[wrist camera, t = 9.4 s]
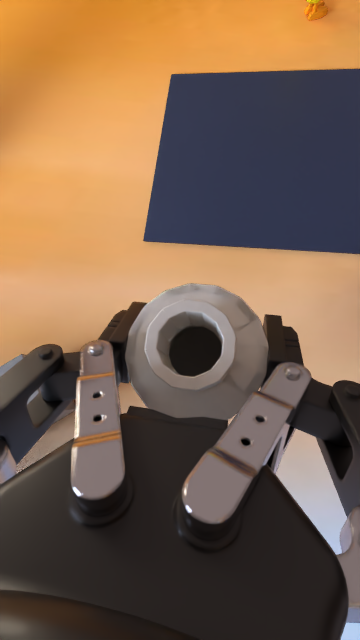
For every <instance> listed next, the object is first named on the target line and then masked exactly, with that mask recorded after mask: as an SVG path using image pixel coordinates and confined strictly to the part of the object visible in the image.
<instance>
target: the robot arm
mask: <svg viewBox="0 0 360 640" xmlns="http://www.w3.org/2000/svg"><path fill="white" fill-rule="evenodd" d="M147 304H148V303H142V302H133V303H132V304H131V306H130V307H129V309H128V310H122V311H120V312H119V313H117V314H116V315H115V316H114V317H113V319H112V320H111V322H110V323H109V324H108V327H106V329H105V330H104V332H103V333H102V334H101V336H100V337H99V339H98V340H95V341H91V342H89V343H87V344H85V345H84V346H83V347H82V348H81V351H80V352H74V353H64V354H63V351H62V348H61V347H60V346H58V345H55V344H47V345H42V346H40V347H37V348H36V349H34V350H33V351H31V352H30V353H29V354H28V355H26V356H25V357H24V358H23V359H22V360H20V361H19V362H18V363H17V364H15V365H14V366H13V367H12V368H11V369H9V370H8V371H7V372H6V373H4V374H3V375H2V376H1V377H0V640H340V639H341V636H342V633H343V630H344V627H345V624H346V623H360V384H359V383H356V382H353V381H347V380H342V381H338V382H336V383H335V384H334V385H333V387H332V386H329V385H326V384H323V383H321V382H318V381H316V380H314V379H313V378H312V377H311V373H310V372H309V370H308V369H307V368H305V367H304V364H303V359H302V354H301V349H300V345H299V340H298V335H297V333H296V332H295V331H294V329H293V328H292V327H286V326H283V325H282V319H281V316H278V315H267V314H265V317H264V323H263V330H264V333H265V336H266V339H267V342H268V346H269V349H268V359H267V372H266V376H265V378H264V380H263V382H262V384H261V390H260V391H257V390H254V391H253V392H252V394H251V395H250V396H249V398H248V399H247V401H246V402H245V403H244V405H243V406H242V408H241V409H240V410H239V412H238V413H237V415H236V416H235V417H234V419H233V420H232V422H231V423H230V424H229V426H228V420H222V419H215V418H208V417H190V418H174V417H172V416H169V415H167V414H164V413H161V412H159V411H156V410H154V409H147V408H141V407H134V406H130V407H129V409H128V411H127V413H124V414H121V408H120V399H119V391H118V386H119V384H120V382H122V383H129V381H130V378H129V374H128V369H127V365H126V360H125V353H126V347H127V341H128V335H129V331H130V328H131V327H132V325H133V323H134V322H135V320H136V318H137V317H138V315H139V313H140V312H141V310H142V308H144V306H145V305H147ZM38 388H39V390H40V392H39V393H38V394H37V395H36V396H35V397H34V398H33V399H32V400H31V401H30V402H29V403H28V404H27V402H28V399H29V398H30V396H31V395H32V394H33V393H34V392H35V391H36V390H37V389H38ZM73 399H76V411H75V437H74V438H73V439H72V440H70V441H68V442H67V443H65V444H64V445H62V446H60V447H59V448H57V449H56V450H54V451H53V452H51V453H49V454H48V455H46V456H45V457H43V458H41V459H40V460H38V461H37V462H35V463H33V464H32V465H30V466H29V467H27V468H25V469H24V470H22V471H21V472H19V473H18V474H16V470H17V464H18V463H19V462H20V460H21V459H22V458H23V457H24V456H25V455H26V453H27V452H28V451H29V450H30V449H31V448H32V447H33V445H34V444H35V443H36V442H37V441H38V440H39V438H40V437H41V436H42V435H43V434H44V433H45V432H46V430H47V429H48V428H49V427H50V426H51V425H52V424H53V422H54V421H55V420H56V419H57V418H58V417H59V415H60V414H61V413H62V412H63V411H64V410H65V409H66V407H67V406H68V405H69V404H70V403H71V401H72V400H73ZM296 429H298V430H301V431H303V432H306V433H308V434H310V435H313V436H315V437H316V439H317V442H318V444H319V447H320V449H321V452H322V455H323V457H324V460H325V462H326V465H327V467H328V470H329V472H330V475H331V477H332V480H333V483H334V485H335V488H336V490H337V493H338V495H339V498H340V500H341V503H342V506H343V508H344V511H345V513H346V516H347V520H346V522H345V524H344V526H343V527H342V529H341V532H340V544H341V549H342V554H339V555H336V554H335V553H334V551H333V550H332V548H331V547H330V545H329V544H328V543H327V541H326V540H325V539H324V537H323V536H322V535H321V533H320V532H319V531H318V530H317V528H316V527H315V526H314V524H313V523H312V522H311V520H310V519H309V518H308V517H307V515H306V514H305V513H304V511H303V510H302V509H301V507H300V506H299V505H298V503H297V502H296V501H295V500H294V498H293V497H292V496H291V494H290V493H289V492H288V490H287V489H286V488H285V487H284V485H283V484H282V483H281V481H280V480H279V479H278V477H277V476H276V475H275V474H276V472H277V469H278V466H279V463H280V461H281V458H282V456H283V454H284V452H285V450H286V448H287V446H288V444H289V442H290V440H291V438H292V436H293V434H294V432H295V430H296ZM15 474H16V475H15Z"/></svg>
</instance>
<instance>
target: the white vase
mask: <svg viewBox="0 0 360 640" xmlns="http://www.w3.org/2000/svg"><path fill="white" fill-rule="evenodd" d="M268 349H269V346H268V342H267V339H266V336H265V333H264V330H263V327H262V324H261V321H260V319H259V317H258V316H257V315H256V314H255V313H254V311H253V310H252V309H251V308H250V307H249V306H248V305H247V304H246V302H245V301H244V300H243V299H242V298H240V297H239V296H237V295H235V294H233V293H231V292H229V291H227V290H225V289H223V288H221V287H219V286H216V285H206V284H194V283H190V284H186V285H182V286H179V287H175V288H172V289H169V290H165V291H164V292H162V293H161V294H160V295H158V296H157V297H156V298H154V299H153V300H152V301H151V302H149V303H148V304H147V305H145V306H144V308H142V310H141V312H140V313H139V315H138V317H137V318H136V320H135V322H134V323H133V325H132V327H131V328H130V331H129V335H128V341H127V347H126V353H125V360H126V365H127V369H128V374H129V378H130V383H131V385H132V387H133V388H134V389H135V391H136V392H137V394H138V395H139V397H140V398H141V400H142V401H143V402H144V404H145V405H146V406H147V407H148V408H149V409H154V410H156V411H159V412H161V413H164V414H167V415H169V416H172V417H174V418H190V417H208V418H215V419H222V420H228V419H231V418H232V417H233V416H234V415H236V414H237V413H238V412H239V410H240V409H241V408H242V406H243V405H244V403H245V402H246V401H247V399H248V398H249V396H250V395H251V394H252V392H253V391H254V390H257V391H258V390H259V388H260V386H261V384H262V382H263V380H264V378H265V376H266V372H267V359H268Z"/></svg>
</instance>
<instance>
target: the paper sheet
mask: <svg viewBox="0 0 360 640" xmlns="http://www.w3.org/2000/svg"><path fill="white" fill-rule="evenodd" d="M143 241H148V242H165V243H182V244H199V245H216V246H233V247H250V248H267V249H284V250H301V251H318V252H335V253H352V254H360V69H337V70H303V71H269V72H235V73H201V74H171V80H170V86H169V92H168V98H167V104H166V110H165V116H164V122H163V127H162V133H161V139H160V145H159V151H158V157H157V163H156V169H155V175H154V181H153V186H152V192H151V198H150V204H149V210H148V216H147V222H146V228H145V234H144V240H143Z"/></svg>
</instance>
